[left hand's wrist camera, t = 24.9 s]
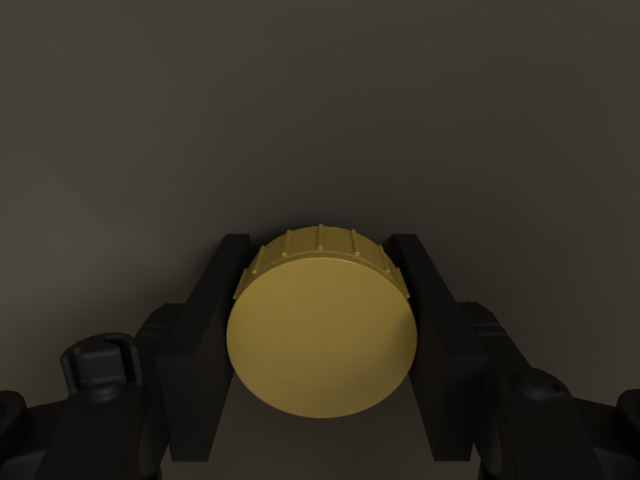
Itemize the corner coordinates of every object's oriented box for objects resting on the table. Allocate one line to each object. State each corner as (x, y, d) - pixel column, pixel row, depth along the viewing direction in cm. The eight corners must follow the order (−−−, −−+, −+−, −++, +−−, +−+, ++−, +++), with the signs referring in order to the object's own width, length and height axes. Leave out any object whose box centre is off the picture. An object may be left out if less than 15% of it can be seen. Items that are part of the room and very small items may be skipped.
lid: (347, 391, 14) (351, 446, 12) (211, 323, 13) (190, 371, 11) (438, 276, 12) (460, 317, 10) (290, 190, 11) (282, 217, 9)
